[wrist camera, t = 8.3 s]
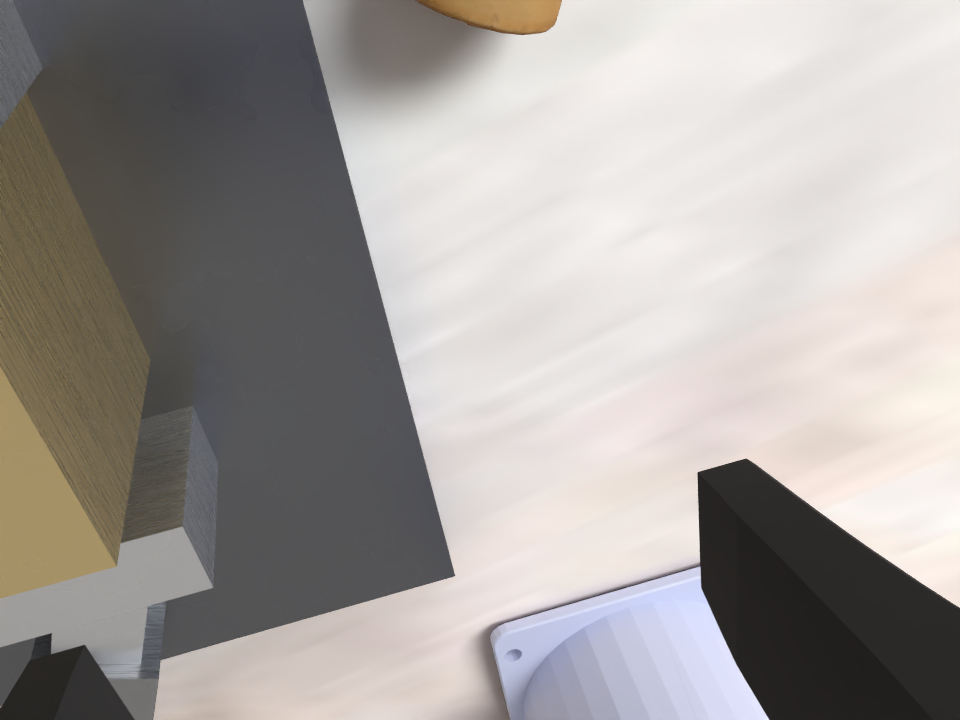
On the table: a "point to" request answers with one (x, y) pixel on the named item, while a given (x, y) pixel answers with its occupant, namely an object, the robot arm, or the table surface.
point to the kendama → (501, 14)
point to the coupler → (59, 375)
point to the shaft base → (223, 334)
